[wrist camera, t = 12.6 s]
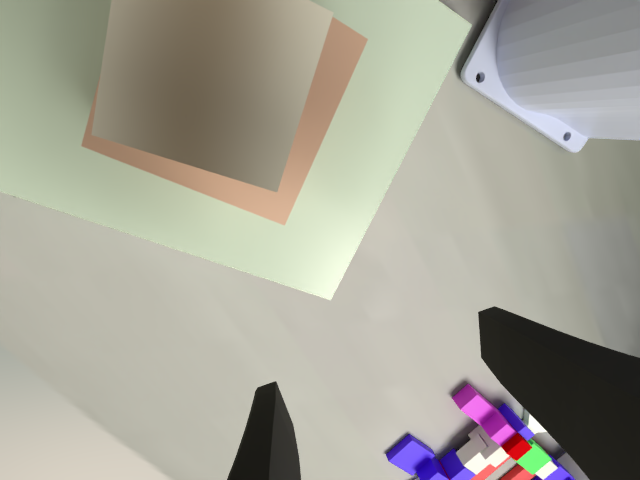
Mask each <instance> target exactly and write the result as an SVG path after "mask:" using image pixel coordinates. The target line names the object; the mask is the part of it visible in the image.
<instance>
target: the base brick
mask: <svg viewBox="0 0 640 480" xmlns="http://www.w3.org/2000/svg"><path fill="white" fill-rule="evenodd" d="M367 41H368V39H367V38H365V37H364V36H362V35H361V34H359V33H358V32H356V31H354V30H353V29H351V28H350V27H348V26H347V25H345V24H343V23H342V22H340V21H339V20H337V19H336V18H334V17H332V20H331V23H330V26H329V29H328V33H327V36H326V39H325V42H324V45H323V49H322V52H321V55H320V58H319V61H318V64H317V68H316V71H315V74H314V77H313V80H312V83H311V87H310V90H309V93H308V96H307V99H306V102H305V106H304V109H303V112H302V115H301V118H300V122H299V125H298V128H297V131H296V134H295V137H294V141H293V144H292V147H291V150H290V153H289V156H288V160H287V163H286V166H285V169H284V172H283V175H282V179H281V182H280V185H279V188H278V191H277V192H274V191H270V190H267V189H264V188H261V187H258V186H254V185H251V184H248V183H245V182H241V181H238V180H235V179H232V178H229V177H225V176H222V175H219V174H216V173H212V172H209V171H206V170H203V169H200V168H196V167H193V166H190V165H187V164H183V163H180V162H177V161H174V160H171V159H167V158H164V157H161V156H158V155H154V154H151V153H148V152H145V151H142V150H138V149H135V148H132V147H129V146H125V145H122V144H119V143H116V142H113V141H109V140H106V139H103V138H100V137H96V136H93V135H91V134H92V127H93V120H94V114H95V107H96V100H97V94H98V87H99V81H100V77H99V81H98V85H97V89H96V92H95V96H94V100H93V104H92V107H91V111H90V115H89V118H88V122H87V126H86V130H85V133H84V137H83V141H82V145H81V146H82V147H84V148H87V149H90V150H92V151H95V152H97V153H100V154H102V155H105V156H108V157H110V158H113V159H115V160H118V161H120V162H123V163H125V164H128V165H131V166H133V167H136V168H138V169H141V170H143V171H146V172H149V173H151V174H154V175H156V176H159V177H161V178H164V179H166V180H169V181H172V182H174V183H177V184H179V185H182V186H184V187H187V188H190V189H192V190H195V191H197V192H200V193H202V194H205V195H207V196H210V197H213V198H215V199H218V200H220V201H223V202H225V203H228V204H230V205H233V206H236V207H238V208H241V209H243V210H246V211H248V212H251V213H254V214H256V215H259V216H261V217H264V218H266V219H269V220H271V221H274V222H277V223H279V224H282V225H284V226H285V224H286V222H287V219H288V217H289V215H290V213H291V210H292V208H293V206H294V204H295V202H296V199H297V197H298V195H299V193H300V190H301V188H302V186H303V184H304V181H305V179H306V177H307V175H308V172H309V170H310V168H311V166H312V164H313V161H314V159H315V157H316V155H317V152H318V150H319V148H320V146H321V143H322V141H323V139H324V137H325V134H326V132H327V130H328V128H329V126H330V123H331V121H332V119H333V117H334V114H335V112H336V110H337V108H338V105H339V103H340V101H341V99H342V96H343V94H344V92H345V90H346V88H347V85H348V83H349V81H350V79H351V76H352V74H353V72H354V70H355V67H356V65H357V63H358V61H359V58H360V56H361V54H362V52H363V50H364V47H365V45H366V43H367Z"/></svg>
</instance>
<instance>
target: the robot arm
mask: <svg viewBox="0 0 640 480" xmlns="http://www.w3.org/2000/svg"><path fill="white" fill-rule="evenodd" d="M477 74H479V75H480V80H479V82H477V81H476V75H477ZM461 79H462V81H463V82H464V83H465V84H467V85H468V86H470V87H471V88H473V89H474V90H476V91H477V92H479V93H480V94H482V95H483V96H485V97H486V98H488V99H489V100H491V101H493V102H494V103H496V104H497V105H499V106H500V107H502V108H503V109H505V110H506V111H508V112H509V113H511V114H512V115H514V116H515V117H517V118H518V119H520V120H521V121H523V122H524V123H526V124H527V125H529V126H530V127H532V128H533V129H535V130H536V131H538V132H539V133H541V134H543V135H544V136H546V137H547V138H549V139H550V140H552V141H553V142H555V143H556V144H558V145H559V146H561V147H562V148H564V149H565V150H567V151H569V152H578V151H580V150H581V149H582V147H583V146H584V144H585V143H586V141H587V140H588V138H601V139H623V140H640V0H498V1H497V3H496V5H495V7H494V9H493V11H492V13H491V15H490V17H489V19H488V20H487V22H486V24H485V26H484V28H483V30H482V32H481V34H480V36H479V38H478V40H477V41H476V43H475V45H474V47H473V49H472V51H471V53H470V55H469V57H468V59H467V61H466V62H465V64H464V66H463V68H462V71H461ZM564 134H565V137H564V139H563V136H564ZM478 314H479V329H480V344H481V358H482V359H483V360H484V362H485V363H486V364H487V366H488V367H489V369H490V370H491V371H492V373H493V374H494V375H495V376H496V378H497V379H498V380H499V381H500V383H501V384H502V385H503V386H504V387H505V388H506V389H507V391H508V392H509V393H510V394H511V395H512V396H513V397H514V398H515V399H516V400H517V401H518V402H519V403H520V404H521V405H522V406H523V407H524V408H525V409H526V410H527V411H528V412H529V414H530V415H531V416H532V417H533V418H534V419H535V420H536V421H537V422H538V423H539V424H540V425H541V426H542V427H543V428H544V429H545V430H546V431H547V432H548V433H549V434H550V435H551V436H552V437H553V438H554V439H555V440H556V441H557V443H558V444H559V445H560V446H561V447H562V448H563V449H564V450H565V451H566V452H567V453H568V455H569V456H570V457H571V458H572V459H573V460H574V461H575V463H576V464H577V465H578V466H579V467H580V469H581V470H582V471H583V472H584V474H585V475H586V476H587V477H588V478H589V480H640V358H638V357H634V356H631V355H628V354H624V353H621V352H618V351H615V350H611V349H608V348H605V347H602V346H599V345H596V344H593V343H590V342H587V341H585V340H582V339H579V338H576V337H573V336H571V335H568V334H565V333H563V332H560V331H557V330H555V329H552V328H549V327H547V326H544V325H542V324H539V323H536V322H534V321H531V320H529V319H526V318H524V317H521V316H519V315H516V314H514V313H511V312H508V311H506V310H503V309H500V308H497V307H492V308H489V309H486V310H483V311H480V312H478ZM227 480H301V475H300V463H299V455H298V449H297V443H296V438H295V432H294V427H293V423H292V421H291V418H290V416H289V413H288V411H287V408H286V405H285V403H284V400H283V398H282V395H281V393H280V390H279V388H278V385H277V382H276V381H275V382H272V383H269V384H266V385H264V386H261V387H258V388H257V390H256V391H255V396H254V400H253V403H252V407H251V411H250V414H249V418H248V421H247V425H246V428H245V431H244V434H243V437H242V440H241V443H240V446H239V449H238V452H237V455H236V458H235V460H234V463H233V466H232V468H231V471H230V473H229V476H228V479H227Z"/></svg>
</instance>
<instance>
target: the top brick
mask: <svg viewBox="0 0 640 480" xmlns="http://www.w3.org/2000/svg"><path fill="white" fill-rule="evenodd" d="M333 14H334V12H332V11H330V10H328V9H326V8H324V7H322V6H320V5H318V4H316V3H314V2H312V1H310V0H112V1H111V8H110V14H109V21H108V28H107V34H106V41H105V47H104V54H103V61H102V67H101V74H100V81H99V87H98V94H97V100H96V107H95V114H94V120H93V127H92V134H91V135H93V136H96V137H100V138H103V139H106V140H109V141H113V142H116V143H119V144H122V145H125V146H129V147H132V148H135V149H138V150H142V151H145V152H148V153H151V154H154V155H158V156H161V157H164V158H167V159H171V160H174V161H177V162H180V163H183V164H187V165H190V166H193V167H196V168H200V169H203V170H206V171H209V172H212V173H216V174H219V175H222V176H225V177H229V178H232V179H235V180H238V181H241V182H245V183H248V184H251V185H254V186H258V187H261V188H264V189H267V190H270V191H274V192H277V191H278V188H279V185H280V182H281V179H282V175H283V172H284V169H285V166H286V163H287V160H288V156H289V153H290V150H291V147H292V144H293V141H294V137H295V134H296V131H297V128H298V125H299V122H300V118H301V115H302V112H303V109H304V106H305V102H306V99H307V96H308V93H309V90H310V87H311V83H312V80H313V77H314V74H315V71H316V68H317V64H318V61H319V58H320V55H321V52H322V49H323V45H324V42H325V39H326V36H327V33H328V29H329V26H330V23H331V20H332V17H333Z"/></svg>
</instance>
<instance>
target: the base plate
mask: <svg viewBox="0 0 640 480" xmlns="http://www.w3.org/2000/svg"><path fill="white" fill-rule="evenodd" d="M111 1H112V0H0V192H3V193H6V194H9V195H12V196H15V197H18V198H21V199H24V200H27V201H30V202H33V203H36V204H39V205H42V206H45V207H48V208H51V209H54V210H58V211H61V212H64V213H67V214H70V215H73V216H76V217H79V218H82V219H85V220H88V221H91V222H94V223H97V224H100V225H103V226H106V227H109V228H112V229H115V230H118V231H121V232H124V233H127V234H130V235H134V236H137V237H140V238H143V239H146V240H149V241H152V242H155V243H158V244H161V245H164V246H167V247H170V248H173V249H176V250H179V251H182V252H185V253H188V254H191V255H194V256H197V257H200V258H203V259H206V260H210V261H213V262H216V263H219V264H222V265H225V266H228V267H231V268H234V269H237V270H240V271H243V272H246V273H249V274H252V275H255V276H258V277H261V278H264V279H267V280H270V281H273V282H276V283H279V284H282V285H286V286H289V287H292V288H295V289H298V290H301V291H304V292H307V293H310V294H313V295H316V296H319V297H322V298H325V299H328V300H331V298H332V296H333V294H334V292H335V290H336V289H337V287H338V285H339V283H340V281H341V279H342V277H343V275H344V273H345V271H346V269H347V267H348V265H349V263H350V261H351V259H352V257H353V256H354V254H355V252H356V250H357V248H358V246H359V244H360V242H361V240H362V238H363V236H364V234H365V232H366V230H367V228H368V226H369V224H370V222H371V221H372V219H373V217H374V215H375V213H376V211H377V209H378V207H379V205H380V203H381V201H382V199H383V197H384V195H385V193H386V191H387V189H388V187H389V186H390V184H391V182H392V180H393V178H394V176H395V174H396V172H397V170H398V168H399V166H400V164H401V162H402V160H403V158H404V156H405V154H406V153H407V151H408V149H409V147H410V145H411V143H412V141H413V139H414V137H415V135H416V133H417V131H418V129H419V127H420V125H421V123H422V121H423V119H424V118H425V116H426V114H427V112H428V110H429V108H430V106H431V104H432V102H433V100H434V98H435V96H436V94H437V92H438V90H439V88H440V86H441V84H442V83H443V81H444V79H445V77H446V75H447V73H448V71H449V69H450V67H451V65H452V63H453V61H454V59H455V57H456V55H457V53H458V51H459V50H460V48H461V46H462V44H463V42H464V40H465V38H466V36H467V34H468V32H469V30H470V28H471V26H472V25H471V24H470V23H469V22H467V21H466V20H464V19H463V18H462V17H460V16H459V15H458V14H456V13H455V12H454V11H452V10H451V9H450V8H448V7H447V6H446V5H444V4H443V3H442V2H440V1H439V0H310V1H312V2H314V3H316V4H318V5H320V6H322V7H324V8H326V9H328V10H330V11H332V12H334V14H333V17H334V18H336V19H337V20H339V21H340V22H342V23H343V24H345V25H347V26H348V27H350V28H351V29H353V30H354V31H356V32H358V33H359V34H361V35H362V36H364V37H365V38H367V39H368V41H367V43H366V45H365V47H364V50H363V52H362V54H361V56H360V58H359V61H358V63H357V65H356V67H355V70H354V72H353V74H352V76H351V79H350V81H349V83H348V85H347V88H346V90H345V92H344V94H343V96H342V99H341V101H340V103H339V105H338V108H337V110H336V112H335V114H334V117H333V119H332V121H331V123H330V126H329V128H328V130H327V132H326V134H325V137H324V139H323V141H322V143H321V146H320V148H319V150H318V152H317V155H316V157H315V159H314V161H313V164H312V166H311V168H310V170H309V172H308V175H307V177H306V179H305V181H304V184H303V186H302V188H301V190H300V193H299V195H298V197H297V199H296V202H295V204H294V206H293V208H292V210H291V213H290V215H289V217H288V219H287V222H286V224H285V226H284V225H282V224H279V223H277V222H274V221H271V220H269V219H266V218H264V217H261V216H259V215H256V214H254V213H251V212H248V211H246V210H243V209H241V208H238V207H236V206H233V205H230V204H228V203H225V202H223V201H220V200H218V199H215V198H213V197H210V196H207V195H205V194H202V193H200V192H197V191H195V190H192V189H190V188H187V187H184V186H182V185H179V184H177V183H174V182H172V181H169V180H166V179H164V178H161V177H159V176H156V175H154V174H151V173H149V172H146V171H143V170H141V169H138V168H136V167H133V166H131V165H128V164H125V163H123V162H120V161H118V160H115V159H113V158H110V157H108V156H105V155H102V154H100V153H97V152H95V151H92V150H90V149H87V148H84V147H82V146H81V145H82V141H83V137H84V133H85V130H86V126H87V122H88V118H89V115H90V111H91V107H92V104H93V100H94V96H95V92H96V89H97V85H98V81H99V77H100V74H101V67H102V61H103V54H104V47H105V41H106V34H107V28H108V21H109V14H110V8H111Z"/></svg>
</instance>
